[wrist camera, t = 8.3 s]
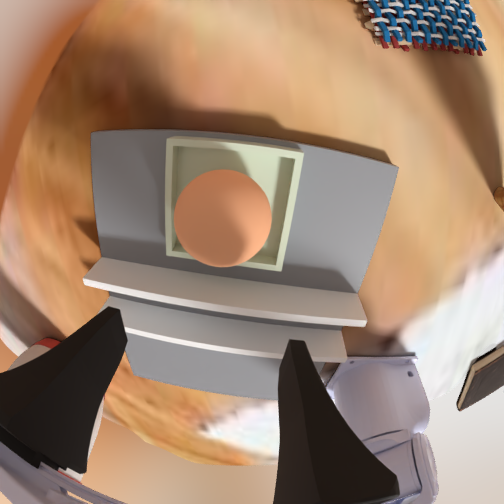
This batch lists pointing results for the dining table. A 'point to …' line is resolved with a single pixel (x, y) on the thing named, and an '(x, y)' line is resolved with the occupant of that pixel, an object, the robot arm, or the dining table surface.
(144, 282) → the grey ridged board
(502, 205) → the ice cream cone
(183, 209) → the ball
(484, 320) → the dining table surface
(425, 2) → the woven mat
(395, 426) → the robot arm
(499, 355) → the hardcover book
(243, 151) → the dish
